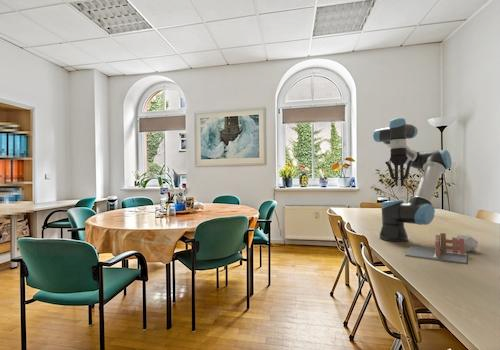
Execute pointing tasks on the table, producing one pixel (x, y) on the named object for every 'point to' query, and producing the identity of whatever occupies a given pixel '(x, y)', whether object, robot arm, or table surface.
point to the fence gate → (437, 245)
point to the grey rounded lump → (468, 242)
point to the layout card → (431, 254)
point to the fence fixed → (453, 241)
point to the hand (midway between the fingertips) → (399, 192)
